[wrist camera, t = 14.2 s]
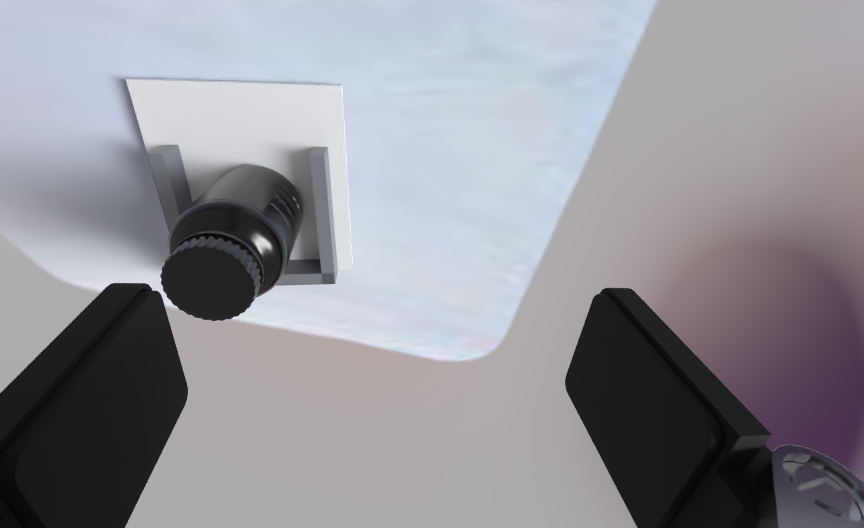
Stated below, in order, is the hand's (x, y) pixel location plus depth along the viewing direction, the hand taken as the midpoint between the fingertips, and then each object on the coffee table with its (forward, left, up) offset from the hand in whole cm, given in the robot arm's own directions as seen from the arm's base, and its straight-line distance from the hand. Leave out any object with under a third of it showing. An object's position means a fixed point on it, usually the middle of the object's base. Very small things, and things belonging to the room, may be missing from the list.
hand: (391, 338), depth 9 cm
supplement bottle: (+6, -9, -25) cm, 27 cm away
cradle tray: (+5, -10, -26) cm, 28 cm away
